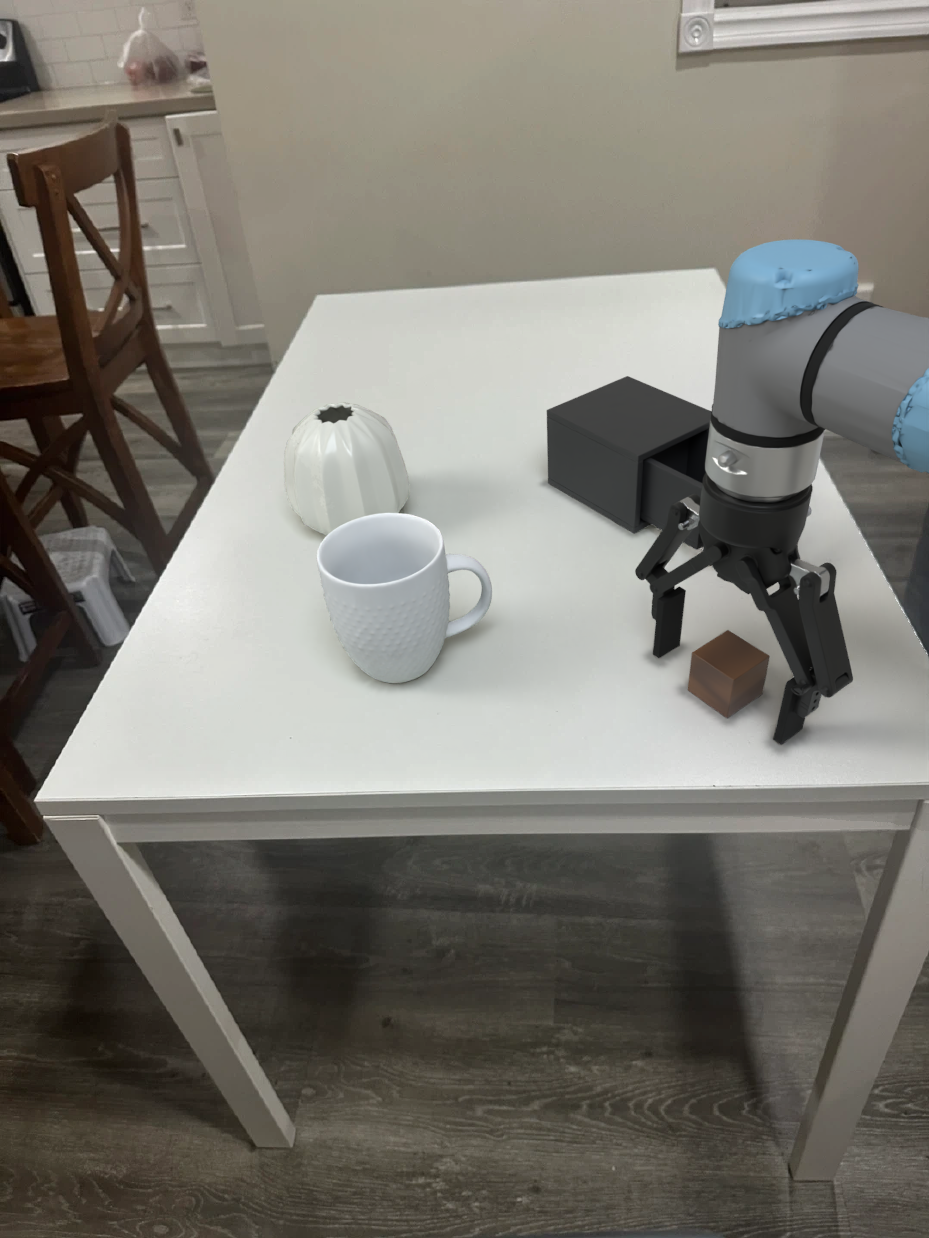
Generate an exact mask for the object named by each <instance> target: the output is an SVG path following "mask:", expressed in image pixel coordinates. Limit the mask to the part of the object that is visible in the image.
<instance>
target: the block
mask: <svg viewBox="0 0 929 1238" xmlns="http://www.w3.org/2000/svg"><path fill="white" fill-rule="evenodd" d="M690 657H691V658H690V664H689V675H688V683H687V691H688V692H689V693H691V694H692V695H693V696H695V697H697V698H698V699H699V700H701V701H702V702H703V703H705V704H706V705H708V707H710V708H712V709H713V710H715V711H716V712H717V713H719V714H720V715H721V716H723V717H725V719H729V718H730V717H733V715H735V714H736V713H737V712H739V711H740V710H742V709H743V708H745V707H746V706H748V705H749V704H750V703H752V702H754V701H755V700H757V699H758V698H760V697H761V696H762V695H763V694H764V689H765V683H766V678H767V674H768V669H769V664H770V659H771V656H770V655H769V654H768V653H766V652H764V651H763V650H761V649H759V648H758V647H757V646H755V645H753V644H752V643H750V642H748V641H747V640H746V639H743V638H742V637H740V636H739V635H737V634H736V633H734V632H732V631H731V630H729V629H727V630H725V631H724V632H722V633H720V634H718V635H717V636H716V637H714V638H713V639H711V640H709V641H708V642H706V643H704V644H703V645H702V646H699V647H698V648H696V649H695V650H693V651H692V652H691V656H690Z"/></svg>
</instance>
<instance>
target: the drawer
mask: <svg viewBox="0 0 929 1238" xmlns="http://www.w3.org/2000/svg"><path fill="white" fill-rule="evenodd" d="M708 436H709V429H706V430H704V431H702V432H700V433H698V434H696V435H694V436H692V437H690V438H688V439H686V440H684V441H682V442H679V443H677V444H675V445H673V446H671V447H669V448H667V449H665V450H663V451H661V452H659V453H657V454H655V455H652V456H650V457H648V458H646V459H644V460H643V473H642V490H641V507H640V518H641V519H643V520H645V521H646V522H648V523H650V524H651V526H653V527H655V528H656V529H659V530H660V531H662V530H663V529H664V527H665V526H666V523H667V518H668V513H669V508H670V506H671V505H673V504H675V503H677V502H679V501H680V500H682V499H684V498H686V497H688V496H690V495H692V494H697V495H698V496H699V497H700V498H701V491H702V483H703V477H704V475H705V473H706V470H705V461H706V452H707V444H708ZM812 511H813V510H812V507H811V506H810V505H809V509H808V514H807V518H808V517H811V515H812ZM683 543H684V544H685V545H687V546H689V547H690V548H691V549H694V550H696V551H699V550H700V549H701V548H702V552H703V551H704V550H706V549H705V547H704V544H703V542H702V539H701V537H700V534H699V532H698V526H697V527H695V528H693V530H692V531H691V532H690V534H689V535H688V536H687V538H686V539H685V540H684V542H683ZM683 543H682V544H683ZM711 566H712V564H711V565H710V566H709V567H711Z"/></svg>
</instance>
